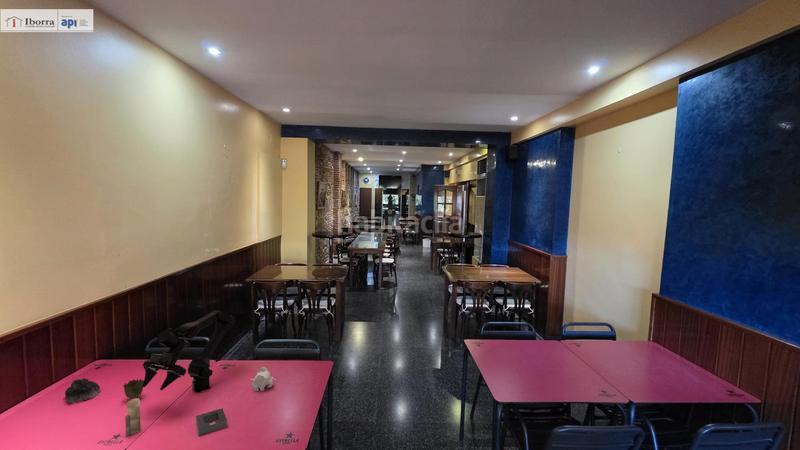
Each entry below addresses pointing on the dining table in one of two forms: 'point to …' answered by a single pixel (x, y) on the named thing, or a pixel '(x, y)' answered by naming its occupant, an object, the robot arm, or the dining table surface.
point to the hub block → (205, 418)
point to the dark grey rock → (81, 390)
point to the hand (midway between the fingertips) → (152, 388)
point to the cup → (133, 389)
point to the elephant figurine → (262, 379)
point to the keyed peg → (133, 417)
